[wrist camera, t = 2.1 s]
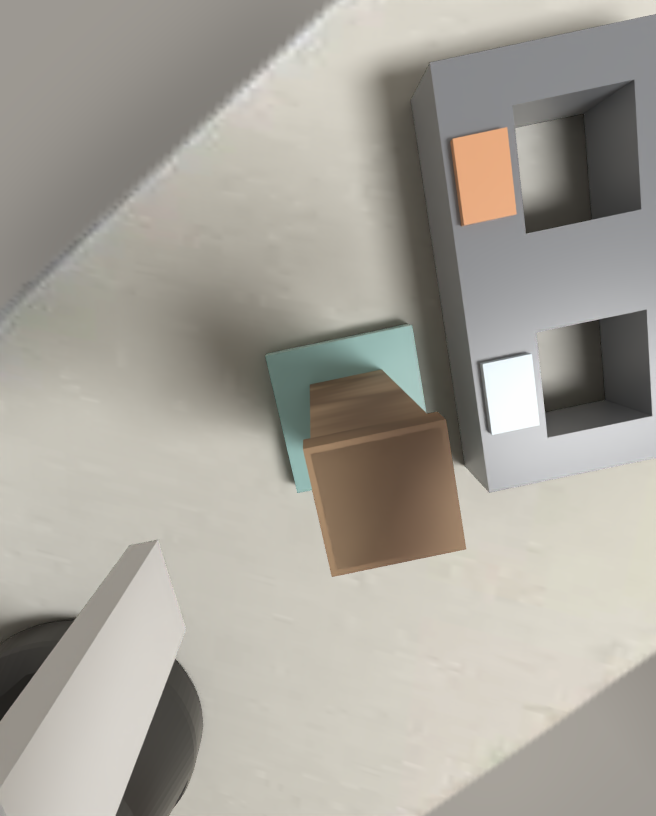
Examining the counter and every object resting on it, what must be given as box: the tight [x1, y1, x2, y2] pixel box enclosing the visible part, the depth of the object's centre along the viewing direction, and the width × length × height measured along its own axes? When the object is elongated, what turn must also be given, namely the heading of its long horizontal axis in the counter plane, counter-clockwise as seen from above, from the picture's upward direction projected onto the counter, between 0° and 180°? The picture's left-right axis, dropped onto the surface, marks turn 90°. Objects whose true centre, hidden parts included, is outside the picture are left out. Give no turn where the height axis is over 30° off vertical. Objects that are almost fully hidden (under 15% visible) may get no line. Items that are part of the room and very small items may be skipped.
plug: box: [303, 369, 466, 577], centre depth 21 cm, size 4×4×12 cm
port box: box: [411, 14, 656, 493], centre depth 25 cm, size 12×20×4 cm, turn 12°
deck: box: [265, 324, 426, 493], centre depth 27 cm, size 8×8×1 cm
